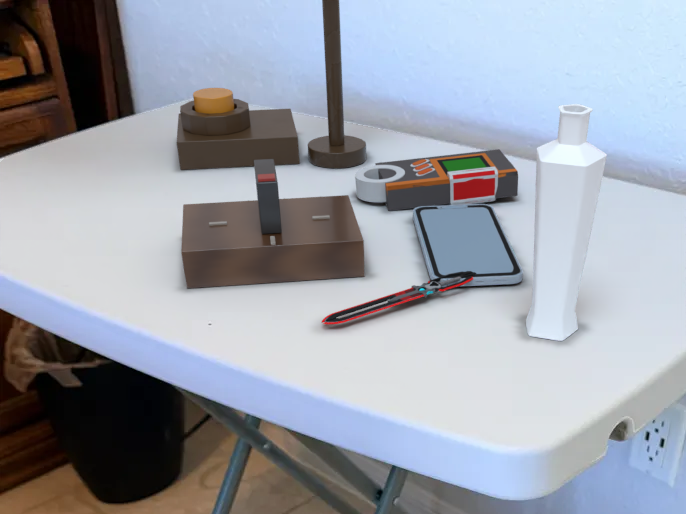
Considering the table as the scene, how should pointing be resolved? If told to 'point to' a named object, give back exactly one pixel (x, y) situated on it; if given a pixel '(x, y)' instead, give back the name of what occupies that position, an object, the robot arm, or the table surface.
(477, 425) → the table surface
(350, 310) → the toy sword
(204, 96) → the power button
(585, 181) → the white vase
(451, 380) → the table surface
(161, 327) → the table surface
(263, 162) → the dimmer knob
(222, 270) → the panel
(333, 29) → the lamp
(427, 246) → the smartphone
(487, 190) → the electronic device
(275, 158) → the button base
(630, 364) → the table surface
